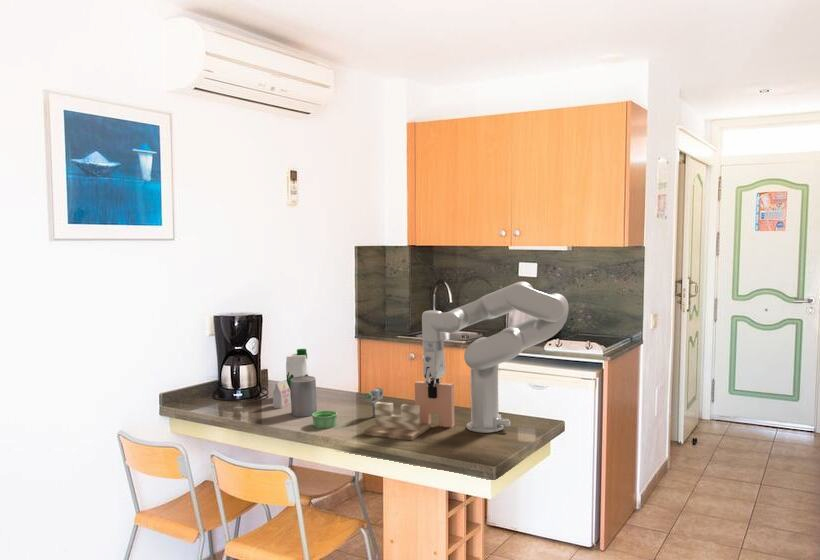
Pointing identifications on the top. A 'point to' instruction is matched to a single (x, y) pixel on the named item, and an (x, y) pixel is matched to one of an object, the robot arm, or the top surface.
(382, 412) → the slotted stand
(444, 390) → the salmon pink flat slab
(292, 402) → the pillar candle
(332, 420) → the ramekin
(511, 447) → the top surface
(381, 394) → the mechanical component
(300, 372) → the milk carton
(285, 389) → the white cardboard box
